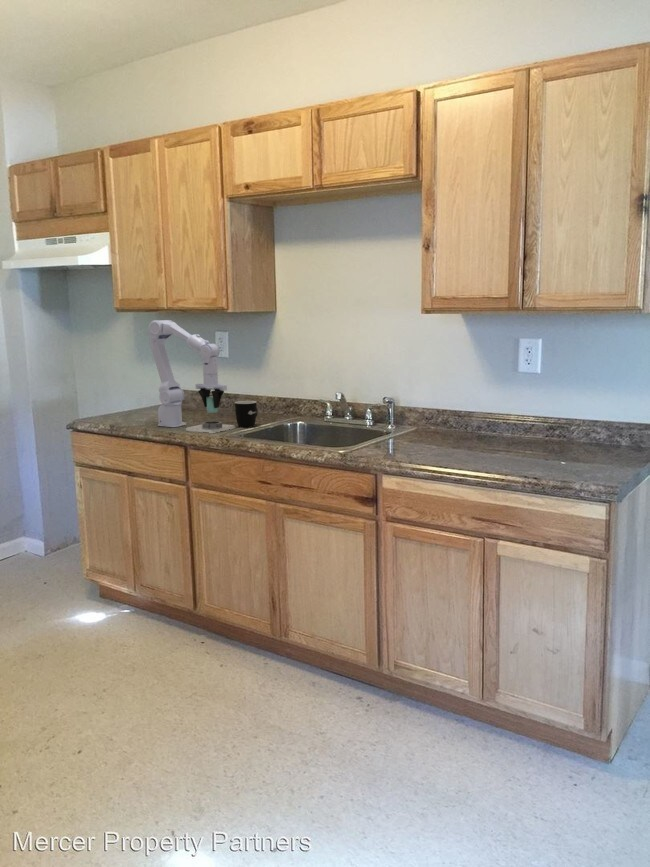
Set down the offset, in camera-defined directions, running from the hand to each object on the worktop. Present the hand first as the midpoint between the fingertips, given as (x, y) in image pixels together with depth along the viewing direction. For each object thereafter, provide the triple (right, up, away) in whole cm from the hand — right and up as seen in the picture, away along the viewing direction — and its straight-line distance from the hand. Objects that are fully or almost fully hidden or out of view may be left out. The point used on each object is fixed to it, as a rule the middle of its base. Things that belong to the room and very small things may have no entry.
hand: (211, 407), depth 293 cm
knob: (0, -2, +1) cm, 2 cm away
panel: (-1, -9, +1) cm, 9 cm away
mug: (+14, -8, +9) cm, 18 cm away
